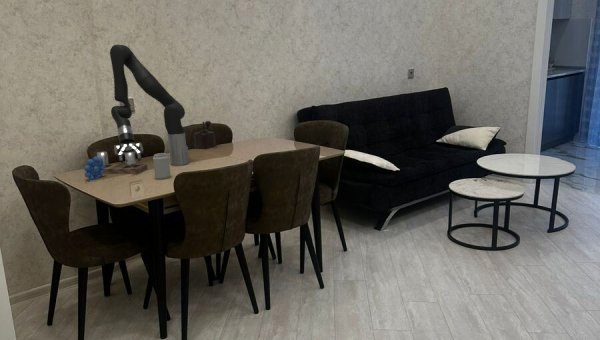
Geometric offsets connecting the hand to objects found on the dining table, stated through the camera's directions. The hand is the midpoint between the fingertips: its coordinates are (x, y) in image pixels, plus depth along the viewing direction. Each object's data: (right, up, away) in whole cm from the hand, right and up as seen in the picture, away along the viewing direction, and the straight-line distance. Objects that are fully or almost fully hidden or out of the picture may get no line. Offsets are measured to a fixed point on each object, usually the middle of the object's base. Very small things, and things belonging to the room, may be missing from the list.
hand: (130, 161), depth 265 cm
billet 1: (-16, -5, +6) cm, 18 cm away
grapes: (-15, -10, -9) cm, 20 cm away
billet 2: (0, -5, +3) cm, 6 cm away
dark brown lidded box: (+28, +10, +64) cm, 71 cm away
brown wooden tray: (-8, -6, +4) cm, 11 cm away
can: (+20, -9, -10) cm, 24 cm away
